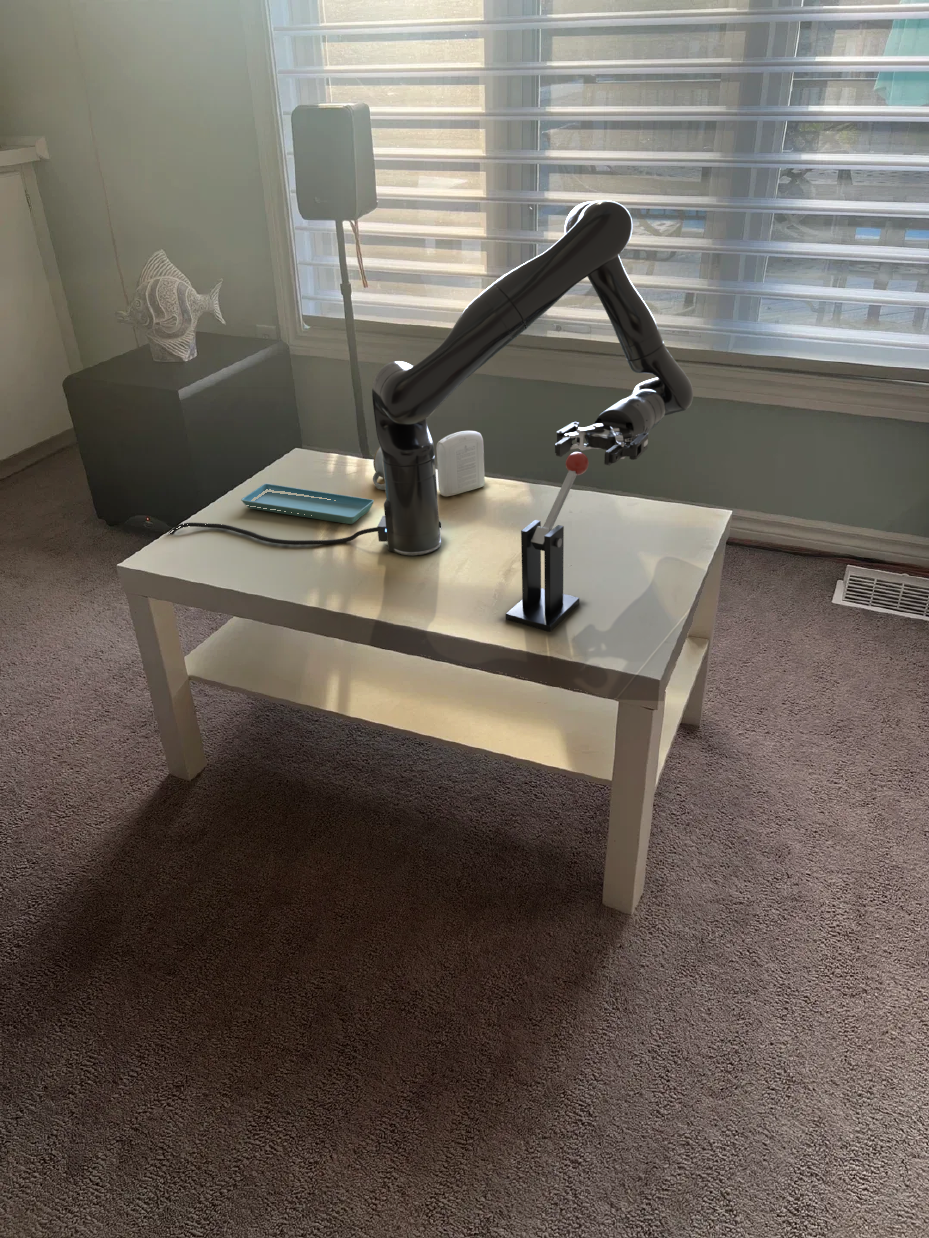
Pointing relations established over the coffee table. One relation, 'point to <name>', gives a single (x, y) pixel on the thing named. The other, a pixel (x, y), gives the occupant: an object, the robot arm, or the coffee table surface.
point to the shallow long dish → (309, 504)
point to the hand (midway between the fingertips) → (582, 455)
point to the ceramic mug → (378, 469)
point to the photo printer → (460, 462)
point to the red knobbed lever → (561, 496)
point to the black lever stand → (536, 602)
